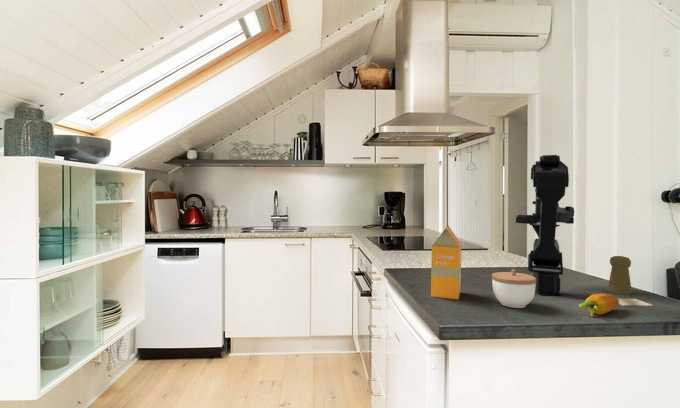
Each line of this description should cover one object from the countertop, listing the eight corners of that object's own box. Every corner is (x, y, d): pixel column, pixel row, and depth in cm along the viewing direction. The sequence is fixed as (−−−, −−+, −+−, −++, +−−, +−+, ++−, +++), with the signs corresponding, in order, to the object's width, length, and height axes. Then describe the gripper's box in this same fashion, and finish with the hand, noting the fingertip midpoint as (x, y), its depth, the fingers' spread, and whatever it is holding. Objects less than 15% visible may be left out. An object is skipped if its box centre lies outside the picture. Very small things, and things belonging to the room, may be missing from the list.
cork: (623, 289, 116) (624, 255, 116) (636, 294, 110) (637, 258, 110) (603, 289, 117) (603, 254, 117) (615, 294, 111) (616, 257, 111)
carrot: (631, 298, 93) (600, 304, 86) (622, 314, 95) (591, 321, 88) (611, 286, 97) (580, 292, 90) (602, 302, 99) (571, 308, 92)
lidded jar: (483, 300, 103) (483, 266, 102) (517, 298, 105) (518, 265, 104) (508, 311, 92) (508, 274, 92) (545, 309, 94) (546, 273, 94)
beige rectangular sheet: (623, 305, 98) (623, 304, 98) (606, 299, 104) (606, 298, 104) (652, 306, 98) (652, 305, 98) (634, 299, 104) (634, 298, 104)
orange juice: (430, 296, 106) (431, 227, 105) (434, 289, 114) (435, 225, 114) (458, 299, 103) (460, 228, 102) (461, 292, 111) (462, 226, 111)
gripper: (541, 198, 113) (540, 249, 113) (589, 198, 118) (588, 247, 118) (515, 198, 123) (514, 244, 124) (560, 198, 128) (559, 243, 129)
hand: (544, 244), depth 123 cm, fingers closed
